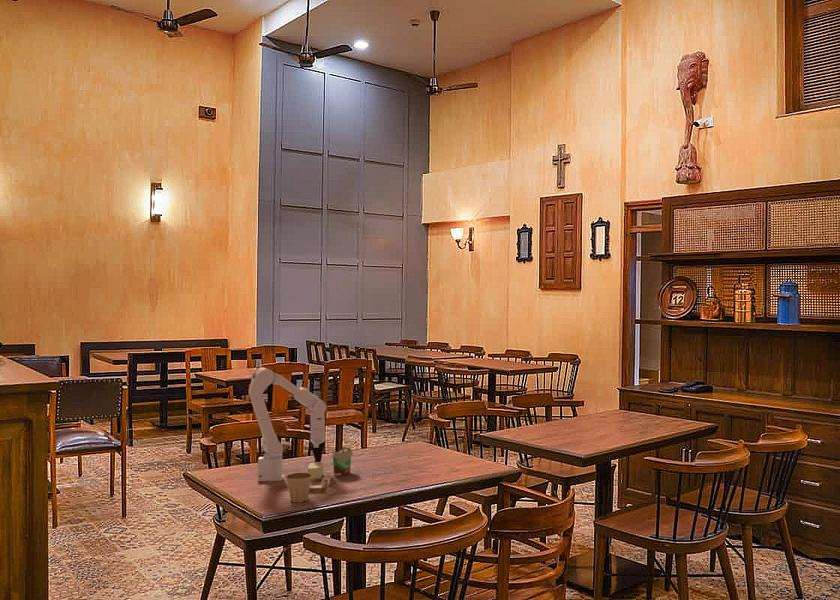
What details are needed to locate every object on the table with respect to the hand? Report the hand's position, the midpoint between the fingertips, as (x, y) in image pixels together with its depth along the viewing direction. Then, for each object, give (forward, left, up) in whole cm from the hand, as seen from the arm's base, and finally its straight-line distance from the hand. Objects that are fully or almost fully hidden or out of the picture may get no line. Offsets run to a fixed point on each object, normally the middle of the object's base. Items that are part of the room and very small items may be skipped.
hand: (318, 461), depth 284 cm
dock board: (0, -17, -5) cm, 18 cm away
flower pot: (-3, -37, -5) cm, 37 cm away
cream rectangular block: (0, -10, -5) cm, 11 cm away
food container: (+11, -2, -5) cm, 12 cm away
